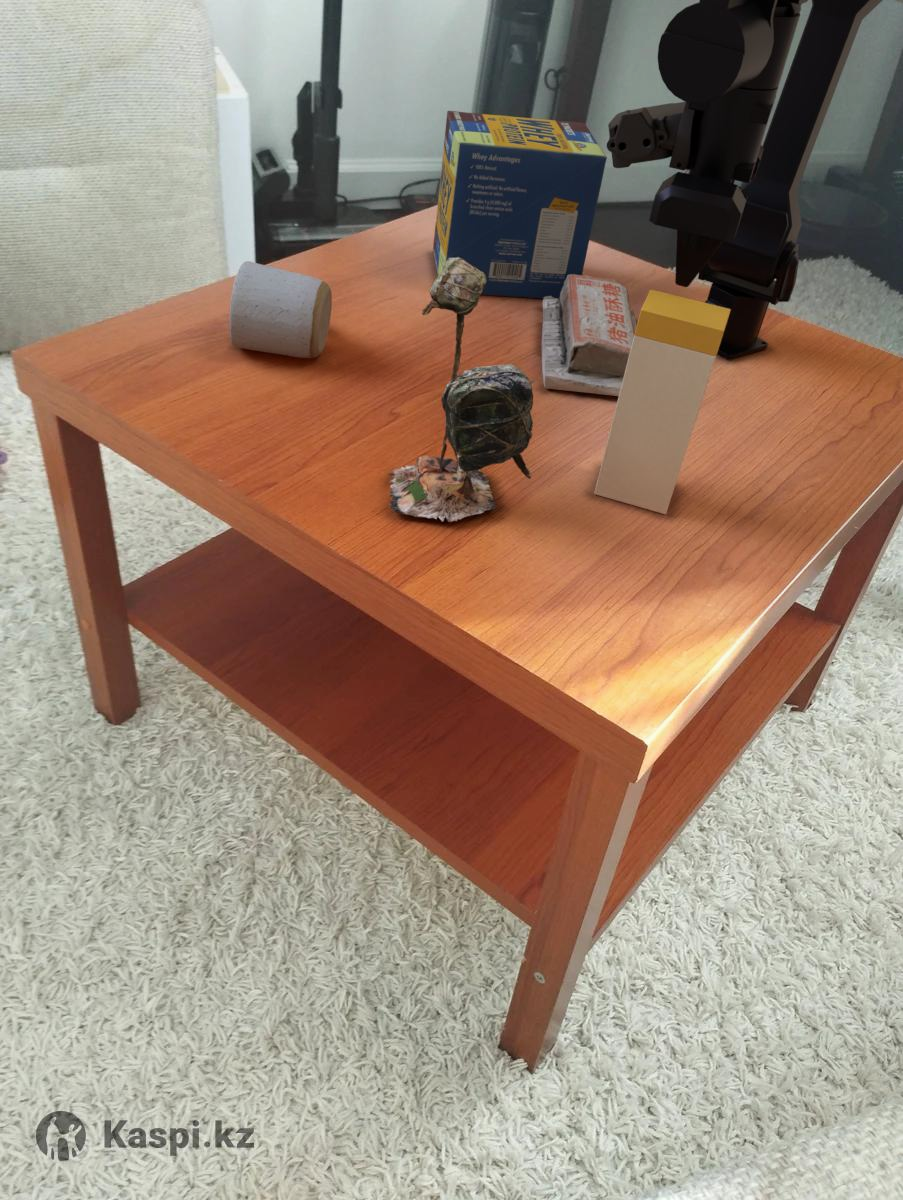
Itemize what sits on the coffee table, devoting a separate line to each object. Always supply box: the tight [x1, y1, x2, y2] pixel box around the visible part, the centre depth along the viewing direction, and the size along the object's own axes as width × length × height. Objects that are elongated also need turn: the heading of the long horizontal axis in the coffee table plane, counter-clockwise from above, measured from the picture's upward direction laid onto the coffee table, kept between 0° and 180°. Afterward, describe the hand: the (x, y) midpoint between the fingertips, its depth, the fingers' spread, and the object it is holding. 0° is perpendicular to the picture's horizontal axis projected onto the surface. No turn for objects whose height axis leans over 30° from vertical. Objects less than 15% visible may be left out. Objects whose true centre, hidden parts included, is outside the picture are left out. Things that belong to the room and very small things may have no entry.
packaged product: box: [541, 274, 637, 397], centre depth 98 cm, size 18×5×10 cm
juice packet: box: [593, 289, 731, 515], centre depth 77 cm, size 4×6×16 cm, turn 71°
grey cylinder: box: [228, 260, 333, 359], centre depth 92 cm, size 11×8×8 cm
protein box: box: [432, 110, 608, 300], centre depth 106 cm, size 10×15×16 cm
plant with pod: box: [387, 257, 535, 523], centre depth 72 cm, size 8×11×20 cm
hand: (682, 284), depth 82 cm, fingers closed
